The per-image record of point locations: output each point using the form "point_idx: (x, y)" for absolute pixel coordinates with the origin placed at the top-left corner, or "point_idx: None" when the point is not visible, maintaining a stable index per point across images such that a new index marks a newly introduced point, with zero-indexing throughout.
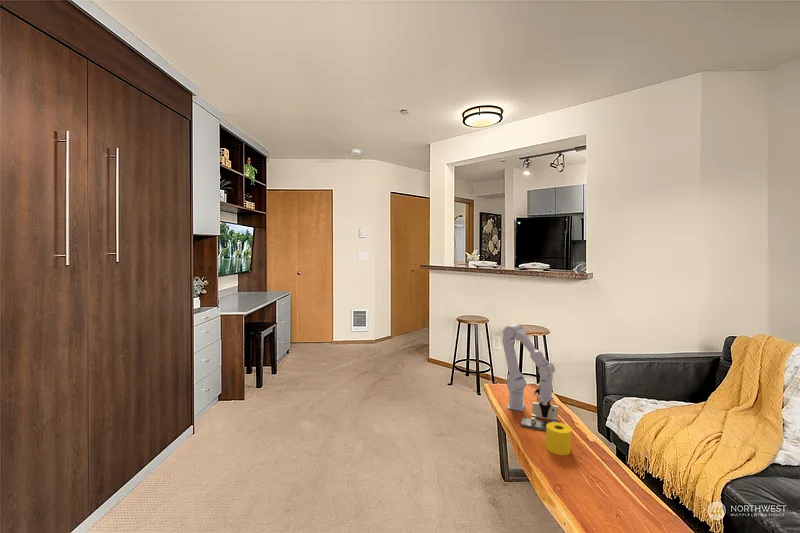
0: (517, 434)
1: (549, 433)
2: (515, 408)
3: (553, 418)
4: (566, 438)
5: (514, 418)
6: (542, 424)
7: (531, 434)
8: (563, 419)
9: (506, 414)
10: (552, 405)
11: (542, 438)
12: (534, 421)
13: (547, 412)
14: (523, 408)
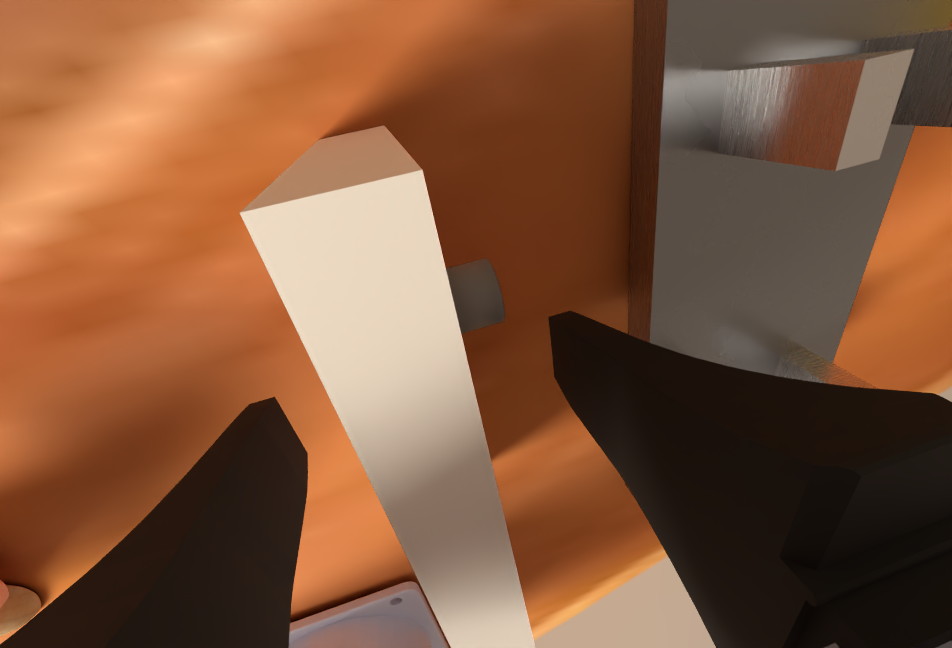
0: (928, 382)
1: None
2: (428, 637)
3: (865, 144)
4: None
5: (626, 532)
6: (770, 281)
7: (931, 294)
8: (203, 5)
9: (573, 597)
10: (411, 426)
11: None
12: (849, 378)
13: (657, 355)
14: (348, 610)
